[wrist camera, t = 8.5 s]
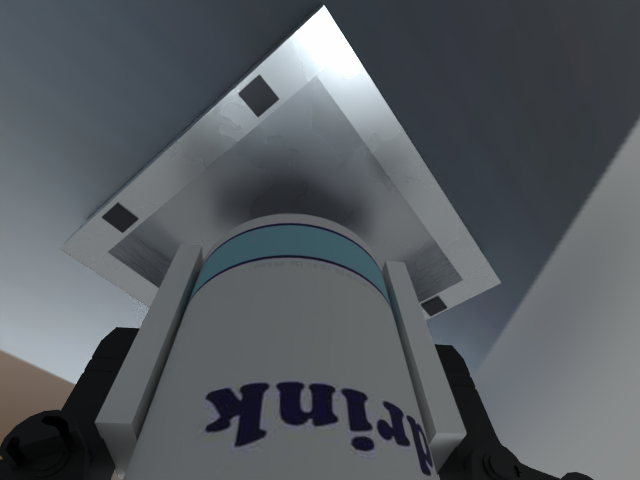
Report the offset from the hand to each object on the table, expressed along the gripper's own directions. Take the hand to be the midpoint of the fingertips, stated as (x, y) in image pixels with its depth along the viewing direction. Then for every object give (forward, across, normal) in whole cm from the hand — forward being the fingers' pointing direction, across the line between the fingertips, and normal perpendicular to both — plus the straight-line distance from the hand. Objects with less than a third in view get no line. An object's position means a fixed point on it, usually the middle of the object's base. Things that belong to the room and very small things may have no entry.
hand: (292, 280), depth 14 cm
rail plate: (+3, 0, 0) cm, 3 cm away
